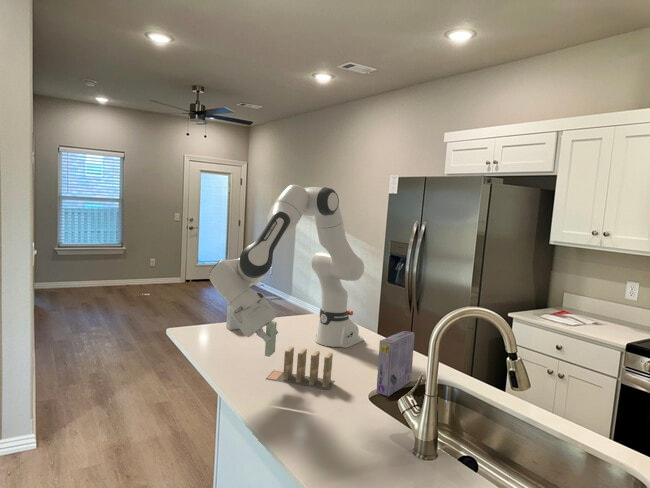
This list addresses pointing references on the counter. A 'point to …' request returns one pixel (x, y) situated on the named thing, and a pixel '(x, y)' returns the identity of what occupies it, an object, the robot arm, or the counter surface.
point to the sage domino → (271, 343)
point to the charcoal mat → (279, 377)
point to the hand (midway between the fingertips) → (272, 337)
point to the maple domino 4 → (327, 370)
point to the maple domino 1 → (288, 363)
